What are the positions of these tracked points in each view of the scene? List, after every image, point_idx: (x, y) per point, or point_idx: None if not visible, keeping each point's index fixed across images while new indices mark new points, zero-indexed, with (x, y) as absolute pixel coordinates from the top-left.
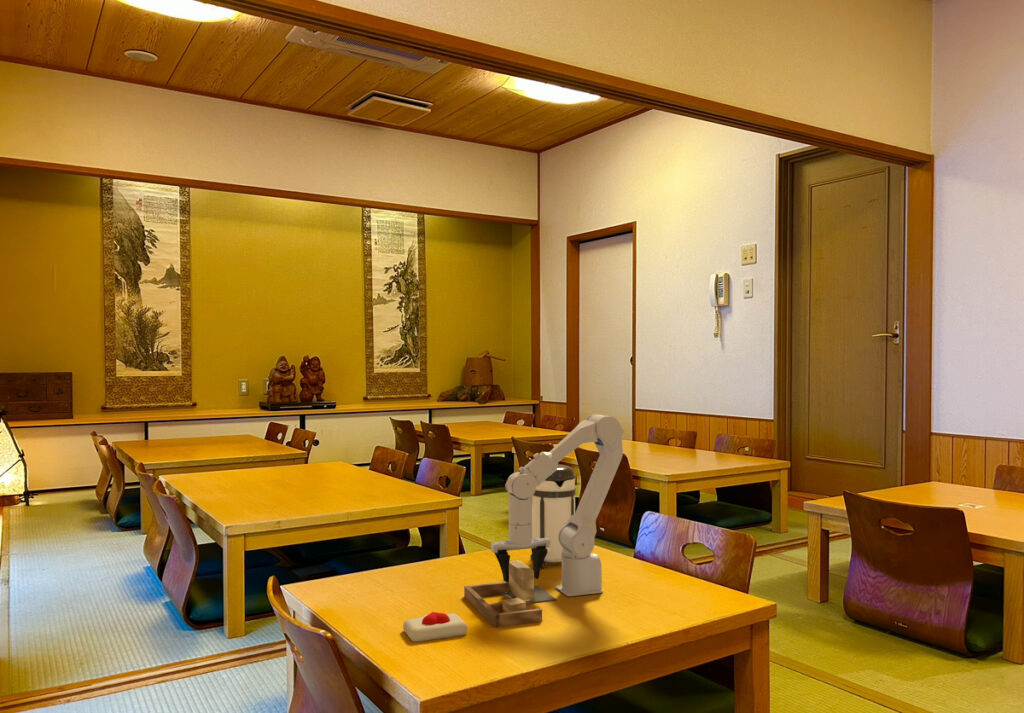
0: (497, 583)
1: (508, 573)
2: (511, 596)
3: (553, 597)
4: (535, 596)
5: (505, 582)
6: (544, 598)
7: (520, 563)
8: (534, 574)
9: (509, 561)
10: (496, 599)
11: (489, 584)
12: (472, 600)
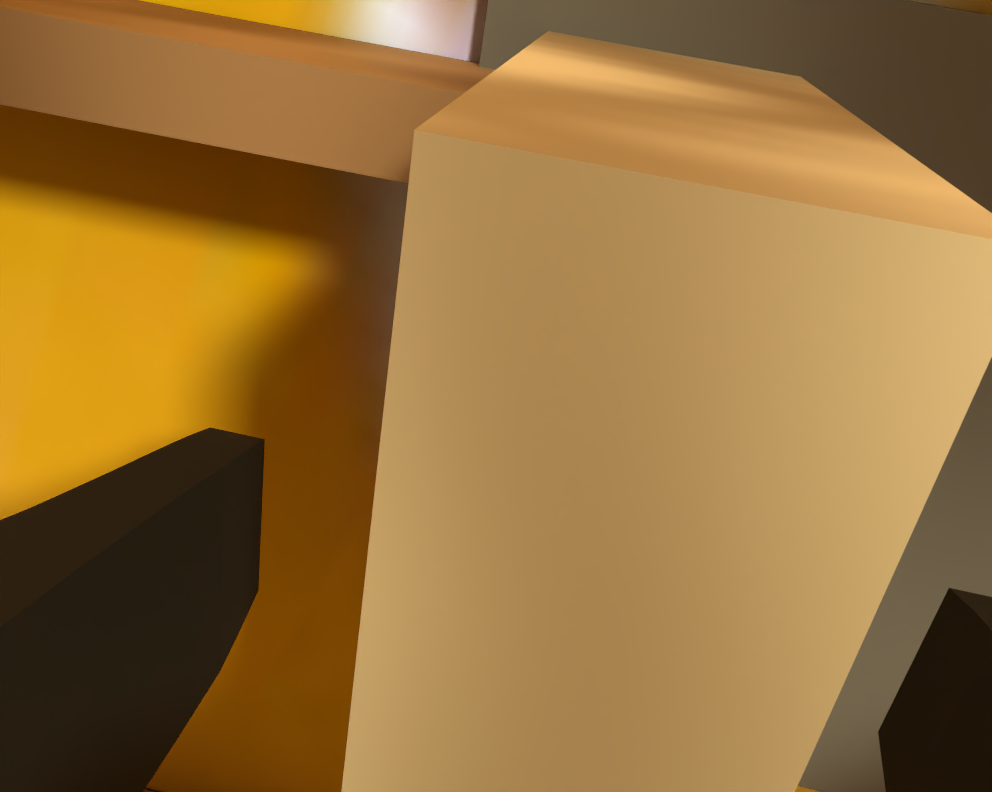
0: (212, 120)
1: (146, 762)
2: None
3: None
4: None
5: (407, 148)
6: None
7: (703, 684)
8: (935, 716)
9: (476, 187)
10: (180, 344)
11: (26, 94)
12: None
